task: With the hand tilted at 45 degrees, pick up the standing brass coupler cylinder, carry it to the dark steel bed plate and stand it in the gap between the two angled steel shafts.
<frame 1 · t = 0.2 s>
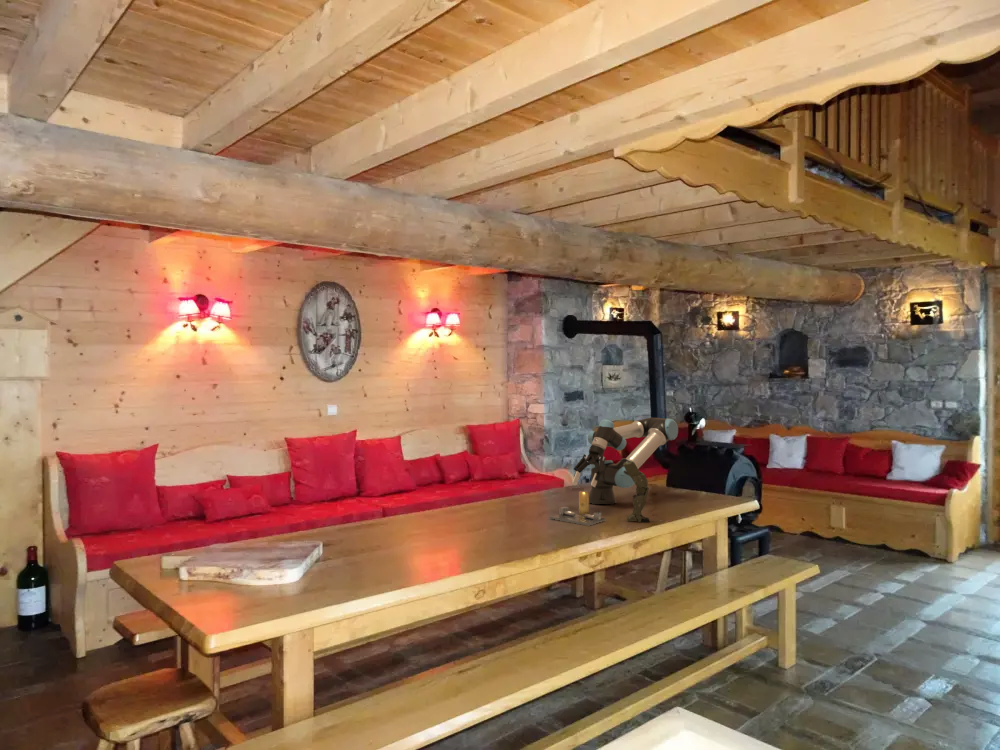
hand: (583, 484, 360), 14 cm above the table, tool tilted 30°, fingers open, 13 cm apart
coupler: (583, 513, 360), on the table
bed plate: (577, 520, 344), on the table
mechanical leg: (636, 521, 343), on the table
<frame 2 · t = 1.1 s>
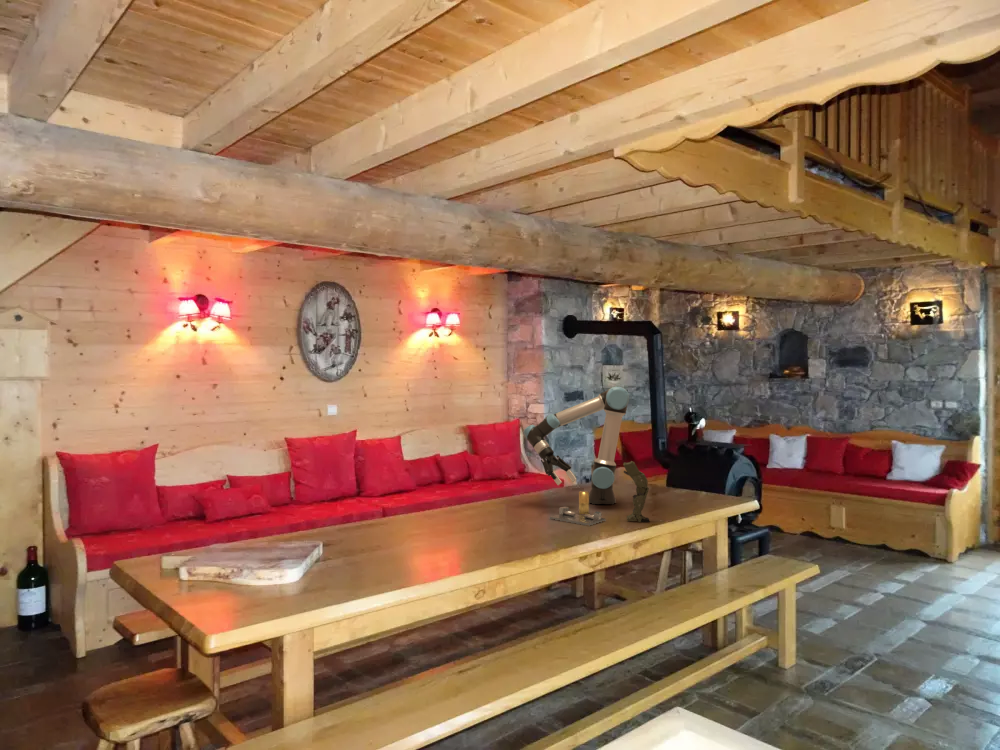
hand: (567, 482, 366), 15 cm above the table, tool tilted 45°, fingers open, 13 cm apart
nothing on the table moved.
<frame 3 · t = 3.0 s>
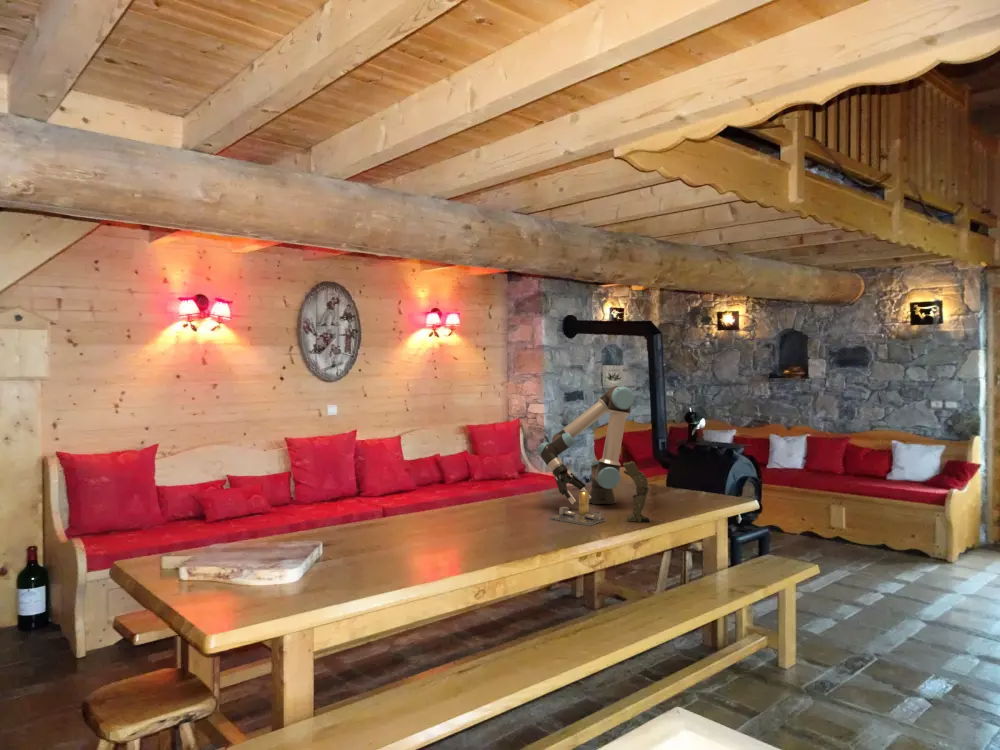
hand: (581, 500, 360), 6 cm above the table, tool tilted 45°, fingers open, 13 cm apart
nothing on the table moved.
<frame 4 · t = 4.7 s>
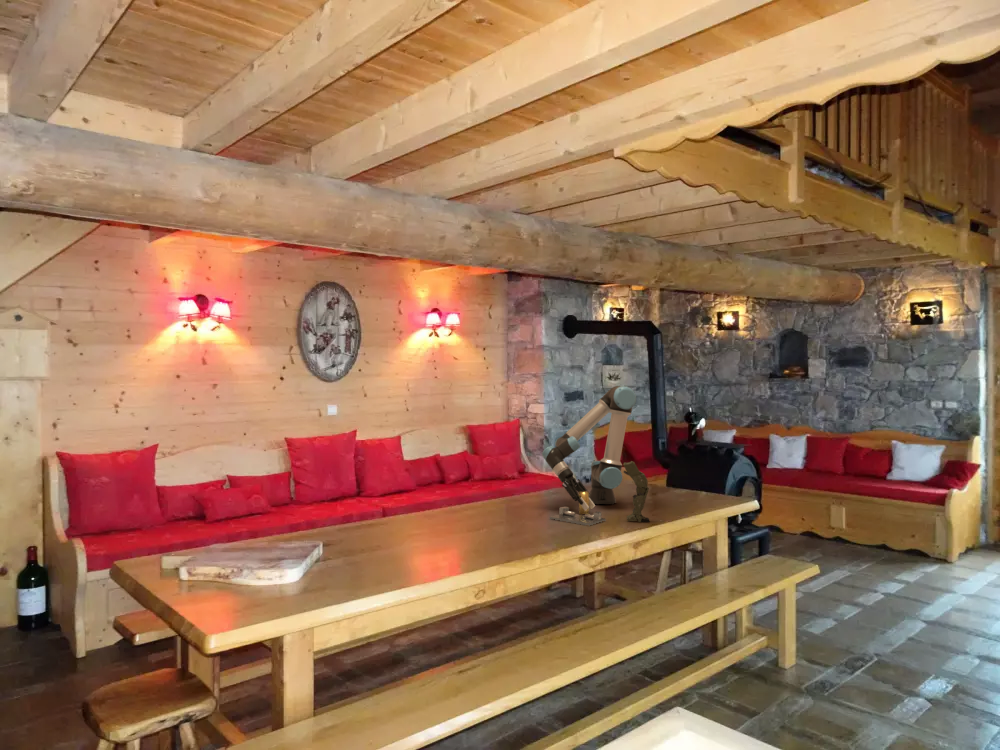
hand: (590, 508, 357), 3 cm above the table, tool tilted 45°, fingers closed on coupler, 5 cm apart
coupler: (583, 513, 360), on the table, touching gripper
everything else where it was.
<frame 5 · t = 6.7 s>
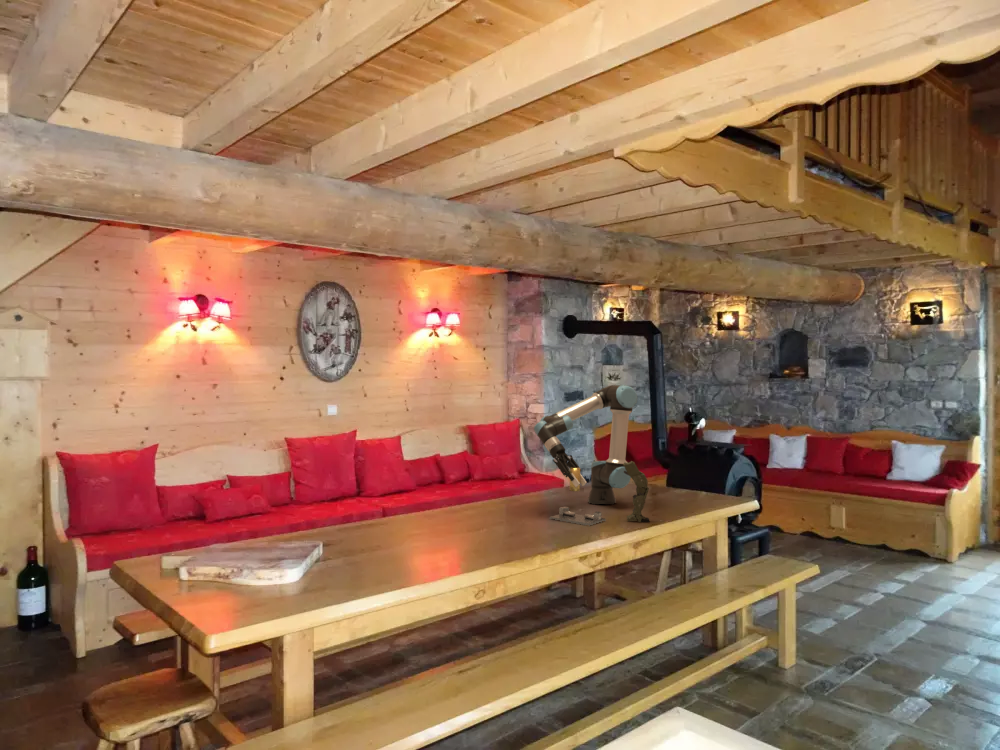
hand: (581, 484, 345), 17 cm above the table, tool tilted 45°, fingers closed on coupler, 5 cm apart
coupler: (574, 490, 347), point 14 cm above the table, touching gripper
everything else where it was.
when the fingers open (6 cm above the table, at t = 9.2 s): coupler drops 1 cm, resting on bed plate.
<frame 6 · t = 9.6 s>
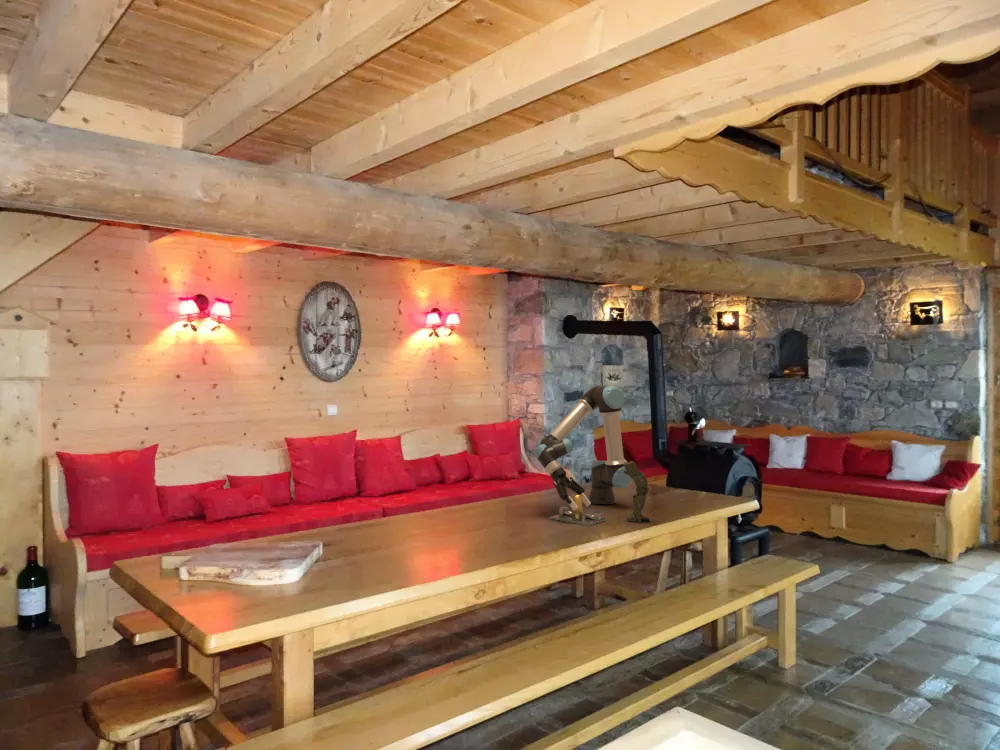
hand: (582, 506, 342), 7 cm above the table, tool tilted 45°, fingers open, 11 cm apart
coupler: (577, 517, 344), point 1 cm above the table, touching bed plate
everything else where it was.
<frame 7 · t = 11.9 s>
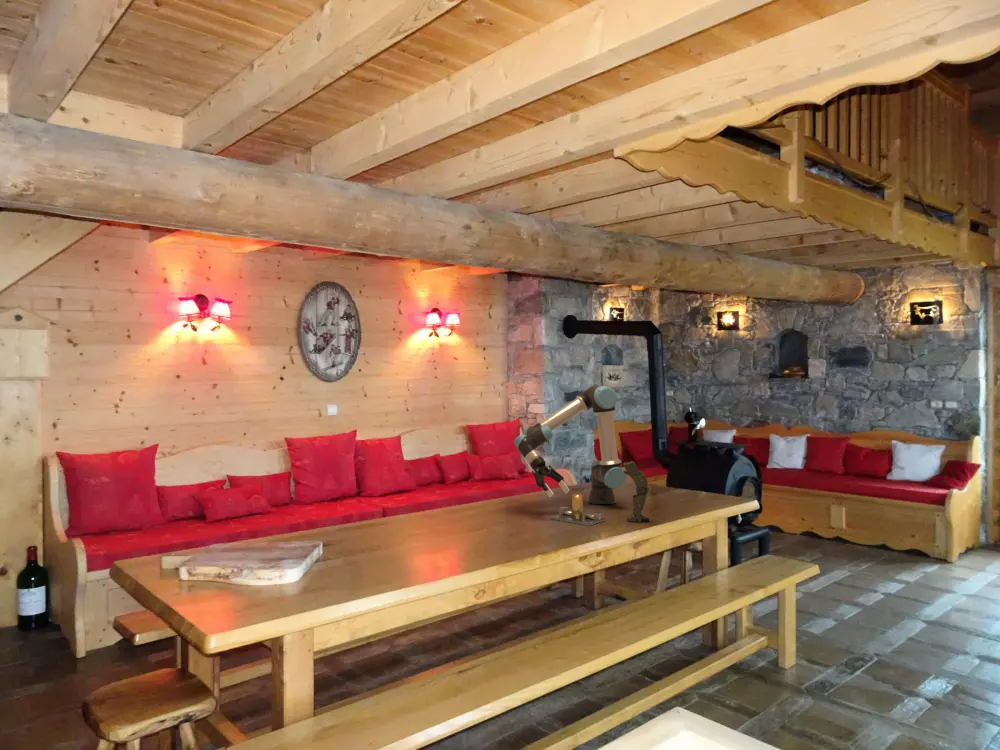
hand: (559, 493, 350), 12 cm above the table, tool tilted 45°, fingers open, 13 cm apart
nothing on the table moved.
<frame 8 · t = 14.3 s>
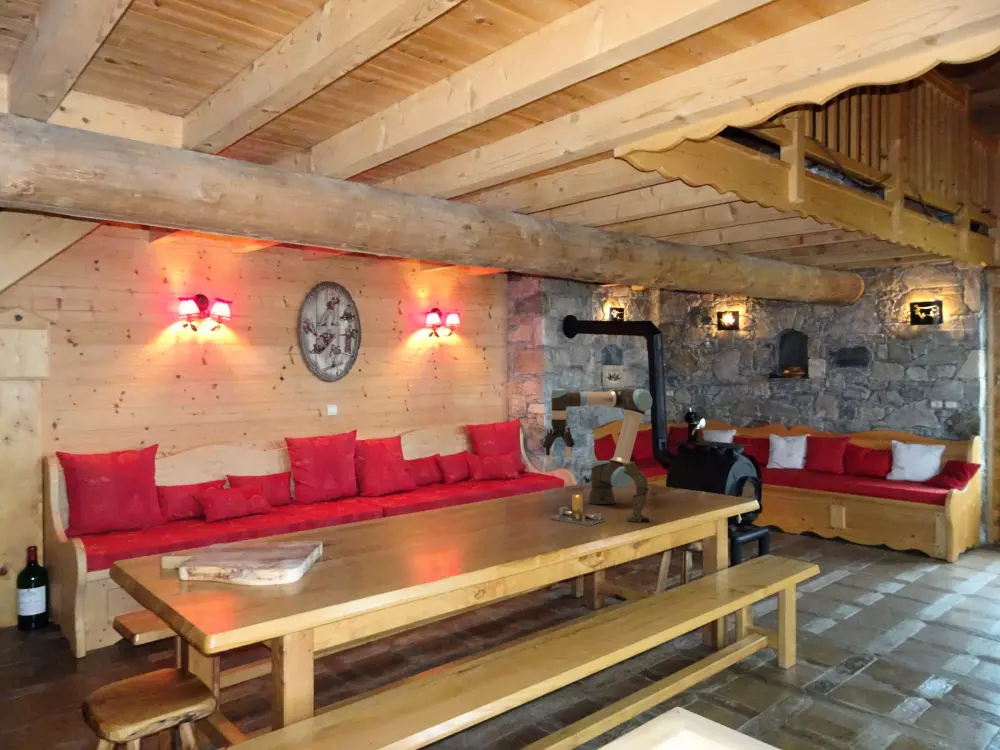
hand: (558, 460, 361), 27 cm above the table, tool pointing down, fingers open, 13 cm apart
nothing on the table moved.
at the end: coupler 0.1 cm from the target spot, point 1.2 cm above the table; coupler tilted 0°; the gripper is holding nothing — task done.
